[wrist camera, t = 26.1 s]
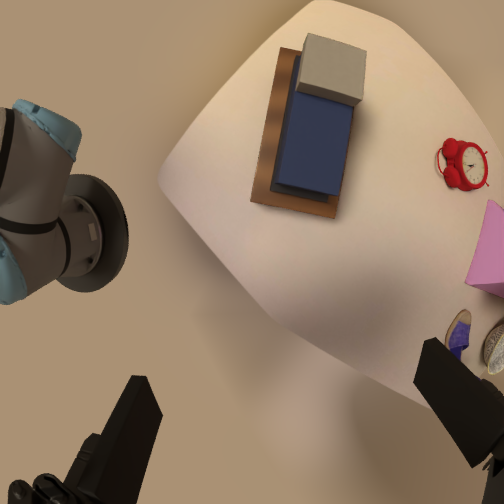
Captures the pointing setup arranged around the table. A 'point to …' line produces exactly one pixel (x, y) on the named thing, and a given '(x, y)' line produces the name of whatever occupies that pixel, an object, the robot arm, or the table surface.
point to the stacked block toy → (318, 118)
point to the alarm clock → (464, 165)
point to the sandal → (459, 334)
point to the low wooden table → (270, 146)
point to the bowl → (495, 350)
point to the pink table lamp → (489, 253)
